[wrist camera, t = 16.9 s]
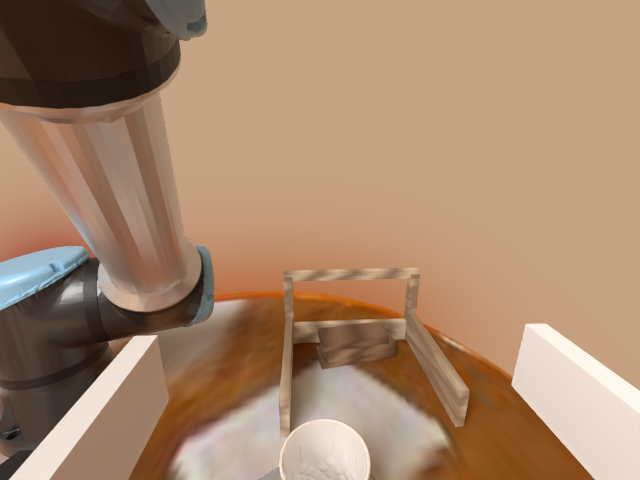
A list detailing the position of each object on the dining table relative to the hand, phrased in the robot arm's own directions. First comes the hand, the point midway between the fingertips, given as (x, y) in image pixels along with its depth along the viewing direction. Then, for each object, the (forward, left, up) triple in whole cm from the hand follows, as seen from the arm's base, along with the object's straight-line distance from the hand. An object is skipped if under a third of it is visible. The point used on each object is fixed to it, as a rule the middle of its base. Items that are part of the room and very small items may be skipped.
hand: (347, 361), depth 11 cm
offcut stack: (-29, +26, -29) cm, 48 cm away
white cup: (-9, +5, -28) cm, 30 cm away
